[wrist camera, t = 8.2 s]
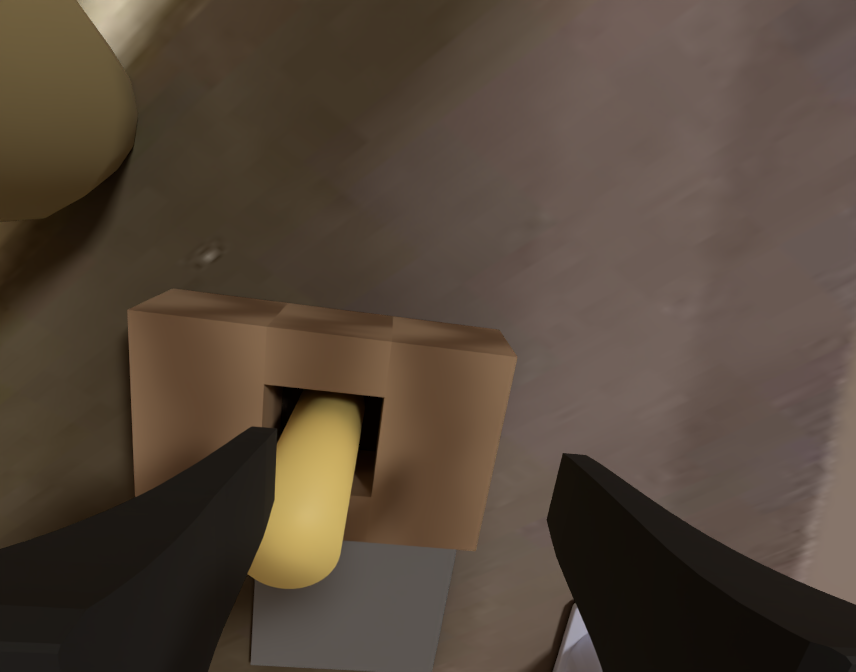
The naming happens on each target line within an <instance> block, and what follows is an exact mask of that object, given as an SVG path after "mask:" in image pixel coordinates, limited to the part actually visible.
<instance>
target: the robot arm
mask: <svg viewBox="0 0 856 672" xmlns="http://www.w3.org/2000/svg"><path fill="white" fill-rule="evenodd" d="M276 451H277V428H266V427H255V426H252V427H250V428H248V429H247V430H245V431H244V432H242V433H241V434H239V435H238V436H236V437H235V438H233V439H232V440H230V441H229V442H227V443H226V444H225V445H223V446H222V447H220V448H219V449H217V450H216V451H214V452H213V453H211V454H210V455H208V456H207V457H205V458H203V459H202V460H200V461H199V462H197V463H196V464H194V465H192V466H191V467H189V468H187V469H186V470H184V471H182V472H181V473H179V474H177V475H175V476H174V477H172V478H170V479H169V480H167V481H165V482H164V483H162V484H160V485H158V486H156V487H155V488H153V489H151V490H149V491H147V492H145V493H143V494H141V495H139V496H137V497H135V498H133V499H131V500H129V501H127V502H124V503H122V504H120V505H118V506H116V507H114V508H112V509H109V510H107V511H105V512H102V513H100V514H97V515H95V516H92V517H90V518H87V519H85V520H82V521H80V522H77V523H75V524H72V525H70V526H67V527H65V528H62V529H59V530H57V531H54V532H51V533H48V534H45V535H42V536H39V537H36V538H34V539H31V540H28V541H25V542H21V543H18V544H15V545H12V546H9V547H5V548H2V549H0V672H208V669H209V666H210V663H211V660H212V657H213V654H214V651H215V648H216V646H217V643H218V641H219V638H220V635H221V633H222V630H223V628H224V625H225V623H226V621H227V619H228V616H229V614H230V612H231V610H232V607H233V605H234V603H235V601H236V598H237V596H238V594H239V592H240V589H241V587H242V585H243V583H244V580H245V578H246V576H247V574H248V571H249V569H250V567H251V565H252V562H253V560H254V558H255V556H256V553H257V551H258V549H259V546H260V544H261V542H262V539H263V537H264V534H265V530H266V527H267V524H268V521H269V517H270V514H271V510H272V507H273V504H274V500H275V476H276ZM547 523H548V527H549V531H550V535H551V539H552V543H553V546H554V550H555V554H556V557H557V559H558V562H559V565H560V567H561V569H562V572H563V574H564V577H565V579H566V582H567V584H568V586H569V589H570V591H571V594H572V596H573V598H574V601H575V603H574V605H573V607H572V610H571V613H570V617H569V620H568V623H567V626H566V630H565V633H564V636H563V640H562V643H561V646H560V650H559V653H558V656H557V660H556V663H555V666H554V669H553V672H856V605H855V604H852V603H850V602H847V601H845V600H842V599H839V598H837V597H835V596H832V595H830V594H827V593H825V592H822V591H820V590H817V589H815V588H813V587H810V586H808V585H806V584H803V583H801V582H799V581H796V580H794V579H792V578H790V577H788V576H786V575H783V574H781V573H779V572H777V571H775V570H773V569H771V568H769V567H766V566H764V565H762V564H760V563H758V562H756V561H754V560H752V559H750V558H748V557H746V556H744V555H742V554H740V553H738V552H736V551H735V550H733V549H731V548H729V547H727V546H726V545H724V544H722V543H720V542H718V541H717V540H715V539H713V538H711V537H709V536H708V535H706V534H704V533H703V532H701V531H699V530H697V529H696V528H694V527H693V526H691V525H689V524H688V523H686V522H685V521H683V520H682V519H680V518H678V517H677V516H675V515H674V514H672V513H671V512H669V511H667V510H666V509H664V508H663V507H662V506H660V505H659V504H657V503H656V502H654V501H653V500H651V499H650V498H648V497H647V496H645V495H644V494H643V493H641V492H640V491H638V490H637V489H635V488H634V487H633V486H631V485H630V484H628V483H627V482H626V481H624V480H623V479H621V478H620V477H619V476H617V475H616V474H614V473H613V472H611V471H610V470H609V469H607V468H606V467H604V466H603V465H601V464H600V463H598V462H597V461H595V460H593V459H592V458H590V457H588V456H586V455H578V454H567V453H563V455H562V459H561V463H560V467H559V471H558V475H557V479H556V483H555V488H554V492H553V496H552V500H551V504H550V508H549V512H548V516H547Z"/></svg>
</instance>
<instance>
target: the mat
mask: <svg viewBox="0 0 856 672" xmlns="http://www.w3.org/2000/svg"><path fill="white" fill-rule="evenodd" d="M455 555H456V550H455V549H443V548H430V547H418V546H405V545H393V544H381V543H368V542H356V541H342V547H341V553H340V557H339V560H338V562H337V564H336V566H335V568H334V569H333V570H332V572H331V573H330V574H329V575H328V576H326V577H325V578H324V579H322V580H321V581H319V582H317V583H315V584H313V585H310V586H307V587H303V588H296V589H282V588H276V587H271V586H268V585H265V584H263V583H261V582H259V581H257V580H255V587H254V608H253V628H252V648H251V665H264V666H283V667H301V668H320V669H338V670H357V671H376V672H432V670H433V665H434V660H435V655H436V650H437V645H438V640H439V635H440V630H441V625H442V620H443V615H444V610H445V605H446V600H447V595H448V590H449V585H450V580H451V575H452V570H453V565H454V560H455Z"/></svg>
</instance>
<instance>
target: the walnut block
mask: <svg viewBox="0 0 856 672" xmlns="http://www.w3.org/2000/svg"><path fill="white" fill-rule="evenodd" d="M127 312H128V336H129V361H130V385H131V409H132V434H133V458H134V482H135V497H137V496H139V495H141V494H143V493H145V492H147V491H149V490H151V489H153V488H155V487H156V486H158V485H160V484H162V483H164V482H165V481H167V480H169V479H170V478H172V477H174V476H175V475H177V474H179V473H181V472H182V471H184V470H186V469H187V468H189V467H191V466H192V465H194V464H196V463H197V462H199V461H200V460H202V459H203V458H205V457H207V456H208V455H210V454H211V453H213V452H214V451H216V450H217V449H219V448H220V447H222V446H223V445H225V444H226V443H227V442H229V441H230V440H232V439H233V438H235V437H236V436H238V435H239V434H241V433H242V432H244V431H245V430H247V429H248V428H250V427H252V426H255V427H266V428H277V443H278V441H279V439H280V429H281V412H282V396H283V386H285V387H294V388H303V389H312V390H321V391H330V392H339V393H348V394H357V395H367V396H376V397H383V398H382V406H381V413H380V421H379V429H378V436H377V444H376V451H366V450H358V453H357V459H356V465H355V471H354V477H353V482H352V488H351V494H350V500H349V506H348V512H347V518H346V524H345V530H344V536H343V541H356V542H368V543H381V544H393V545H405V546H418V547H430V548H443V549H455V550H468V551H476V547H477V542H478V537H479V533H480V528H481V524H482V519H483V514H484V510H485V505H486V500H487V496H488V491H489V487H490V482H491V477H492V473H493V468H494V463H495V459H496V454H497V449H498V445H499V440H500V436H501V431H502V426H503V422H504V417H505V412H506V408H507V403H508V398H509V394H510V389H511V385H512V380H513V375H514V371H515V366H516V361H517V356H516V354H515V353H514V351H513V350H512V348H511V347H510V345H509V344H508V342H507V341H506V339H505V338H504V336H503V335H502V333H501V332H500V330H497V329H489V328H481V327H473V326H465V325H457V324H450V323H442V322H434V321H426V320H418V319H410V318H402V317H394V316H386V315H378V314H371V313H363V312H355V311H347V310H339V309H331V308H323V307H315V306H307V305H300V304H292V303H284V302H276V301H268V300H260V299H252V298H244V297H236V296H228V295H221V294H213V293H205V292H197V291H189V290H181V289H173V288H172V289H170V290H168V291H166V292H164V293H162V294H160V295H158V296H156V297H153V298H151V299H149V300H147V301H145V302H143V303H141V304H139V305H136V306H134V307H132V308H130V309H128V310H127Z"/></svg>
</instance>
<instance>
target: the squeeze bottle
mask: <svg viewBox="0 0 856 672" xmlns="http://www.w3.org/2000/svg"><path fill="white" fill-rule="evenodd" d="M137 120H138V110H137V106H136V101H135V97H134V93H133V88H132V84H131V80H130V78H129V76H128V75H127V73H126V71H125V70H124V68H123V67H122V65H121V64H120V62H119V60H118V59H117V57H116V56H115V54H114V52H113V51H112V49H111V48H110V46H109V45H108V43H107V42H106V41H105V39H104V38H103V36H102V35H101V34H100V32H99V31H98V30H97V28H96V27H95V25H94V24H93V23H92V21H91V20H90V18H89V17H88V16H87V14H86V13H85V12H84V10H83V9H82V7H81V6H80V5H79V3H78V2H77V1H76V0H0V222H3V221H17V220H31V219H45V218H46V217H48V216H50V215H52V214H54V213H55V212H57V211H59V210H61V209H62V208H64V207H66V206H68V205H70V204H71V203H73V202H75V201H77V200H79V199H80V198H82V197H84V196H86V195H87V194H88V193H89V192H90V191H92V190H93V189H94V188H95V187H97V186H98V185H99V184H100V183H102V182H103V181H104V180H105V179H107V178H108V177H109V176H110V175H111V174H113V173H114V172H115V171H116V170H118V168H119V167H120V165H121V164H122V162H123V161H124V159H125V158H126V156H127V155H128V153H129V152H130V150H131V149H132V147H133V146H134V140H135V134H136V127H137Z"/></svg>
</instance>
